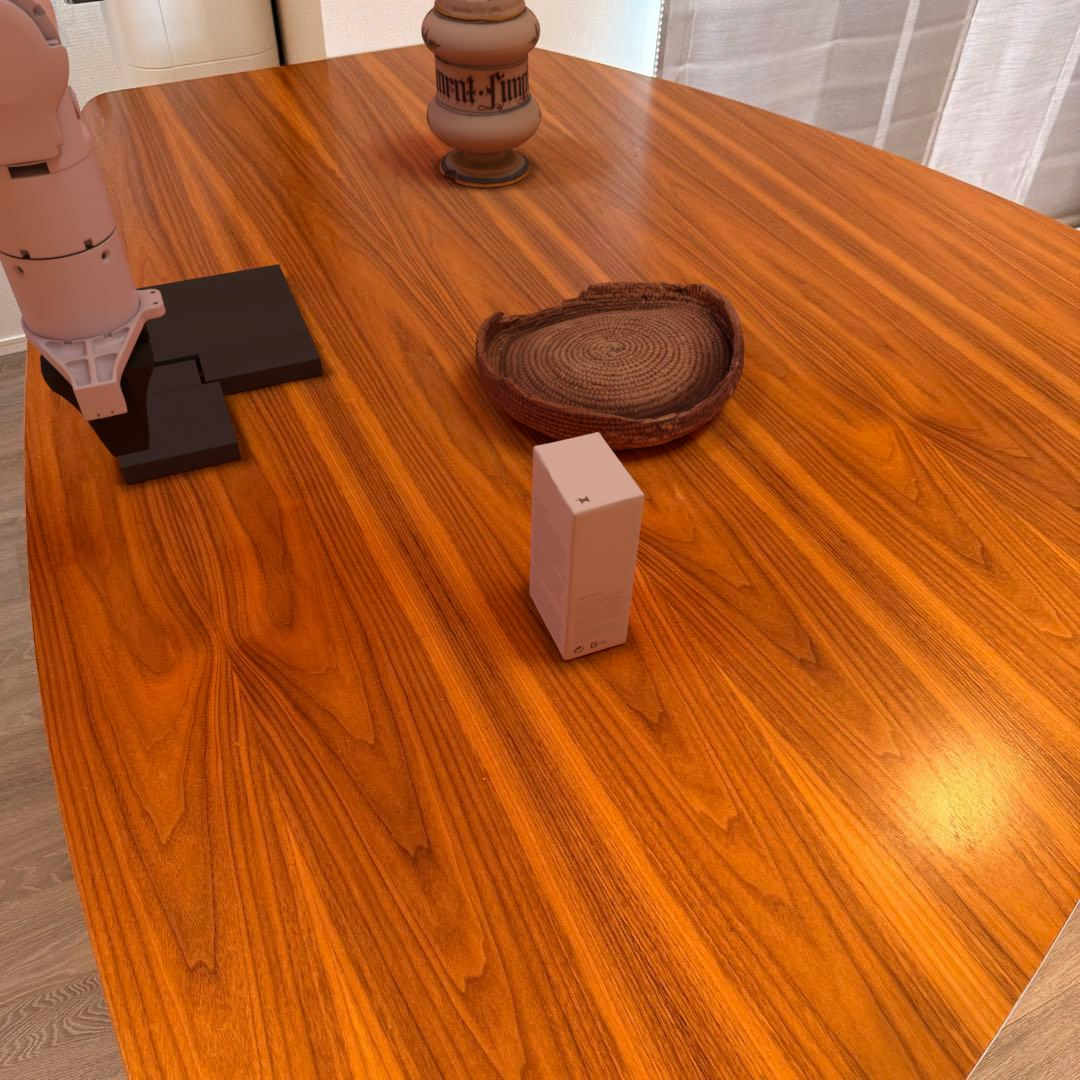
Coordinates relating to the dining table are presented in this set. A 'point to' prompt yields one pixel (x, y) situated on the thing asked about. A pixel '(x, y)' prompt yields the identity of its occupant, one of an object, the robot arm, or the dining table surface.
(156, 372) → the small pad
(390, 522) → the dining table surface
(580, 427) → the basket
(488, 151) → the apothecary jar
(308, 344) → the big pad
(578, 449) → the cosmetic box
